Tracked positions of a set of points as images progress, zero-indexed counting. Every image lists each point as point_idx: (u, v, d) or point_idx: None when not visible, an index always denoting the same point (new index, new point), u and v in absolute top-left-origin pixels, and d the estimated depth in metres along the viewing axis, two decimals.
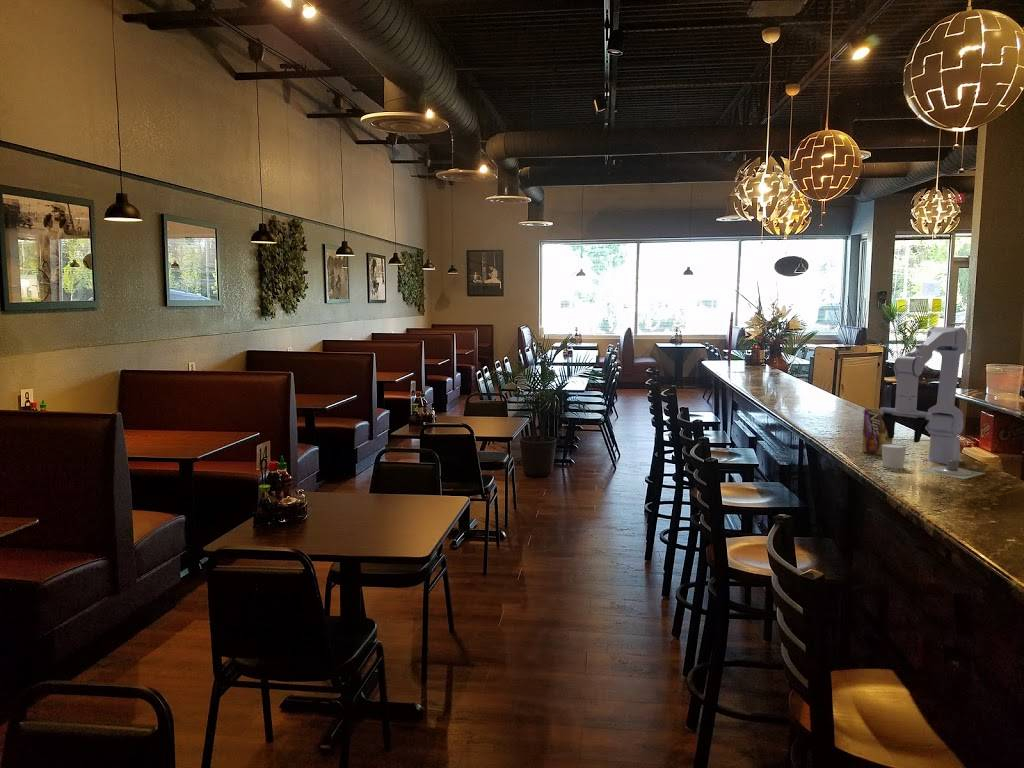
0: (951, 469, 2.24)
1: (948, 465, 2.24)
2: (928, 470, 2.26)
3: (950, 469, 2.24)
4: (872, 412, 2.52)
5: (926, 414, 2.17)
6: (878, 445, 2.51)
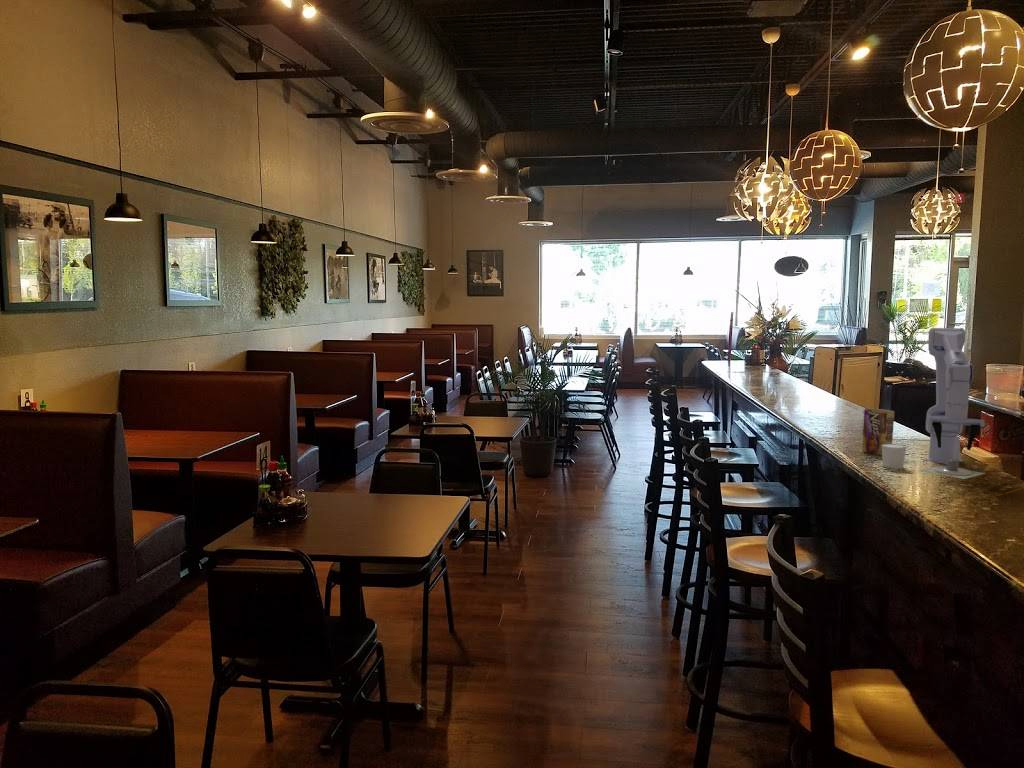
0: (951, 469, 2.24)
1: (948, 465, 2.24)
2: (928, 470, 2.26)
3: (950, 469, 2.24)
4: (872, 412, 2.52)
5: (981, 421, 2.19)
6: (878, 445, 2.51)
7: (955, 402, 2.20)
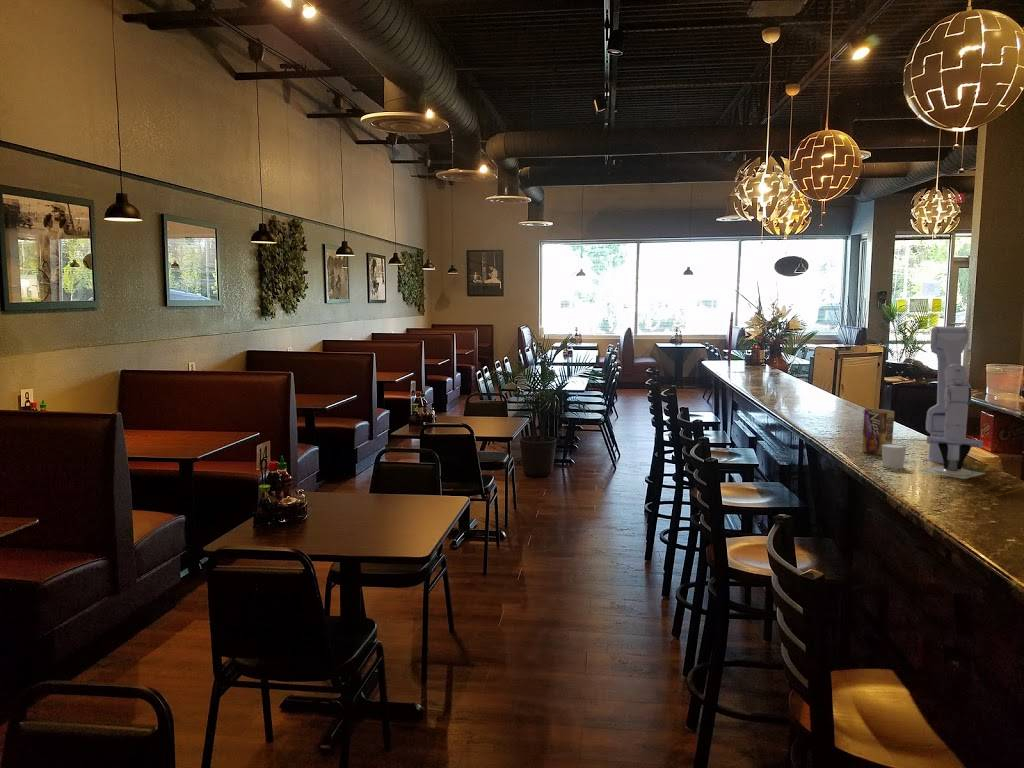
0: (951, 469, 2.24)
1: (948, 465, 2.24)
2: (928, 470, 2.26)
3: (950, 469, 2.24)
4: (872, 412, 2.52)
5: (979, 442, 2.20)
6: (878, 445, 2.51)
7: (953, 423, 2.21)
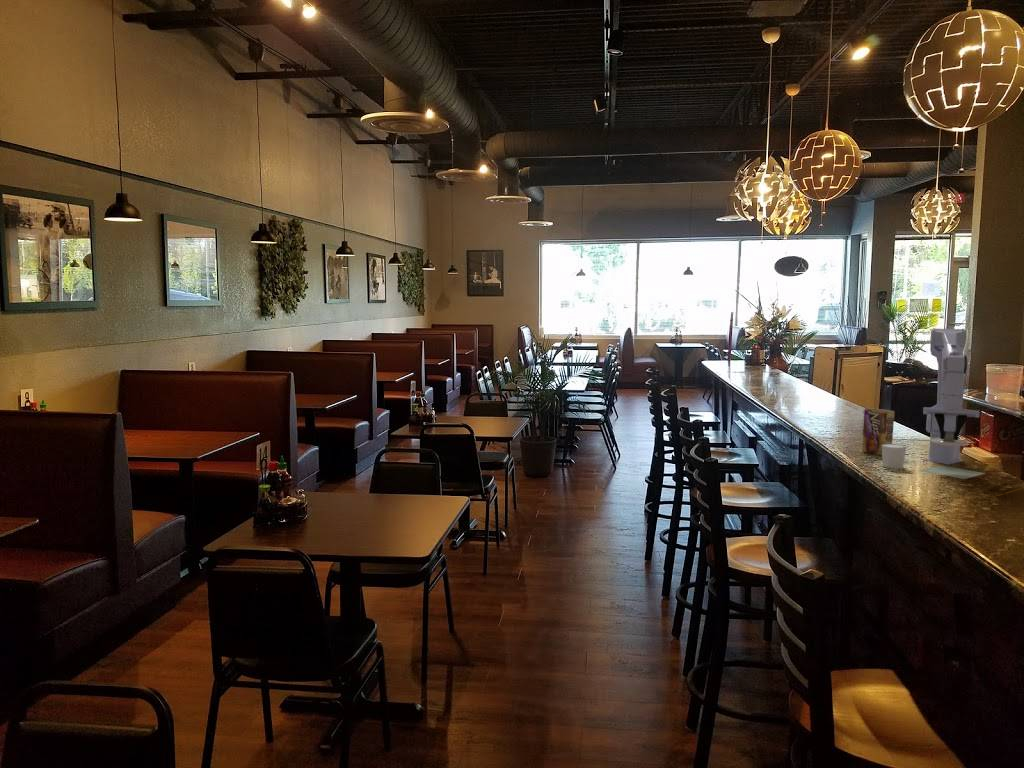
0: (948, 440, 2.23)
1: (945, 436, 2.24)
2: (928, 470, 2.26)
3: (947, 440, 2.23)
4: (872, 412, 2.52)
5: (976, 412, 2.20)
6: (878, 445, 2.51)
7: (949, 393, 2.21)
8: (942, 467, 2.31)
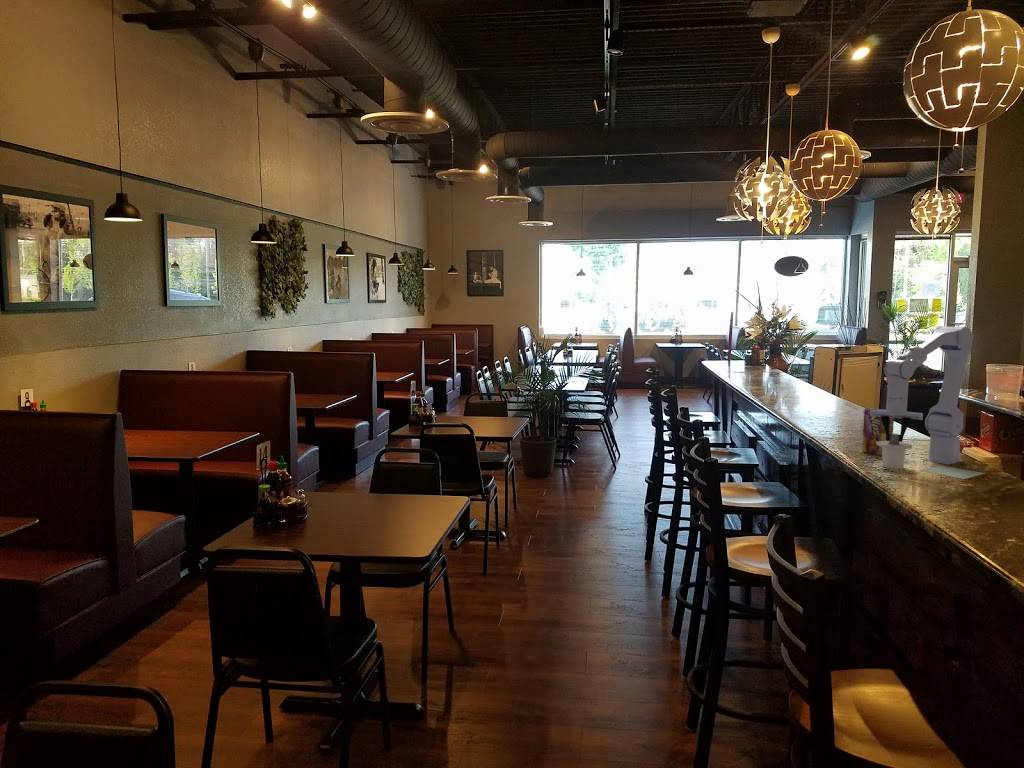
0: (893, 443, 2.30)
1: (890, 439, 2.31)
2: (928, 470, 2.26)
3: (892, 443, 2.30)
4: None
5: (920, 414, 2.26)
6: None
7: (888, 395, 2.29)
8: (942, 467, 2.31)
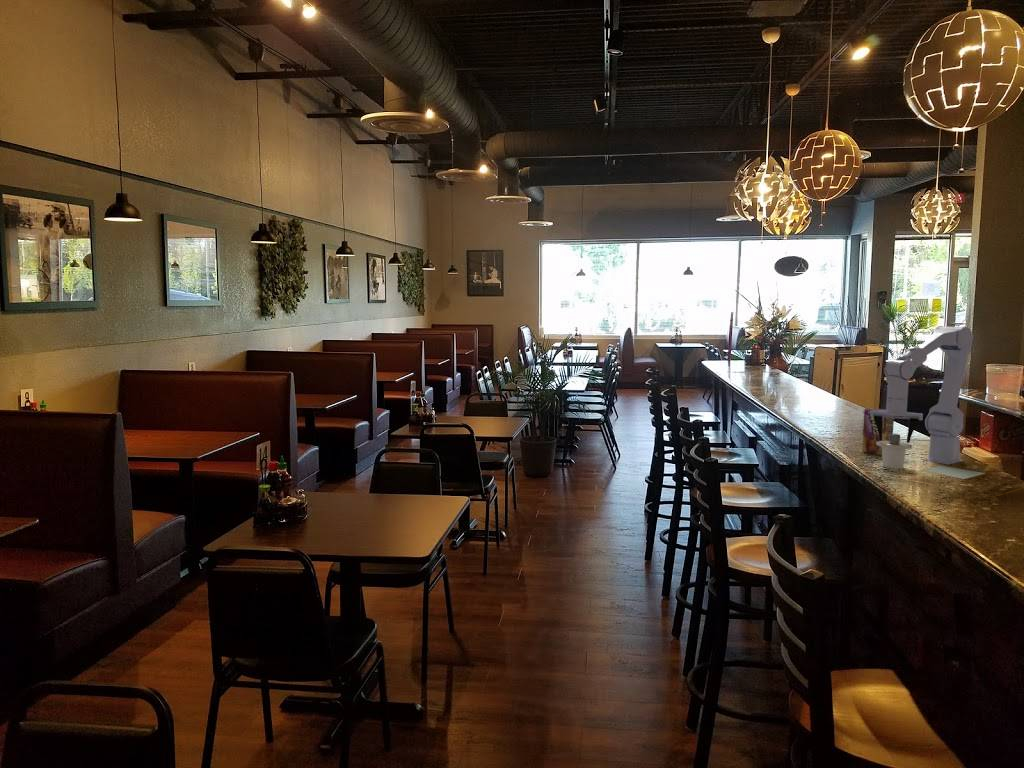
0: (893, 443, 2.30)
1: (890, 439, 2.31)
2: (928, 470, 2.26)
3: (892, 443, 2.30)
4: None
5: (920, 415, 2.26)
6: None
7: (888, 396, 2.29)
8: (942, 467, 2.31)
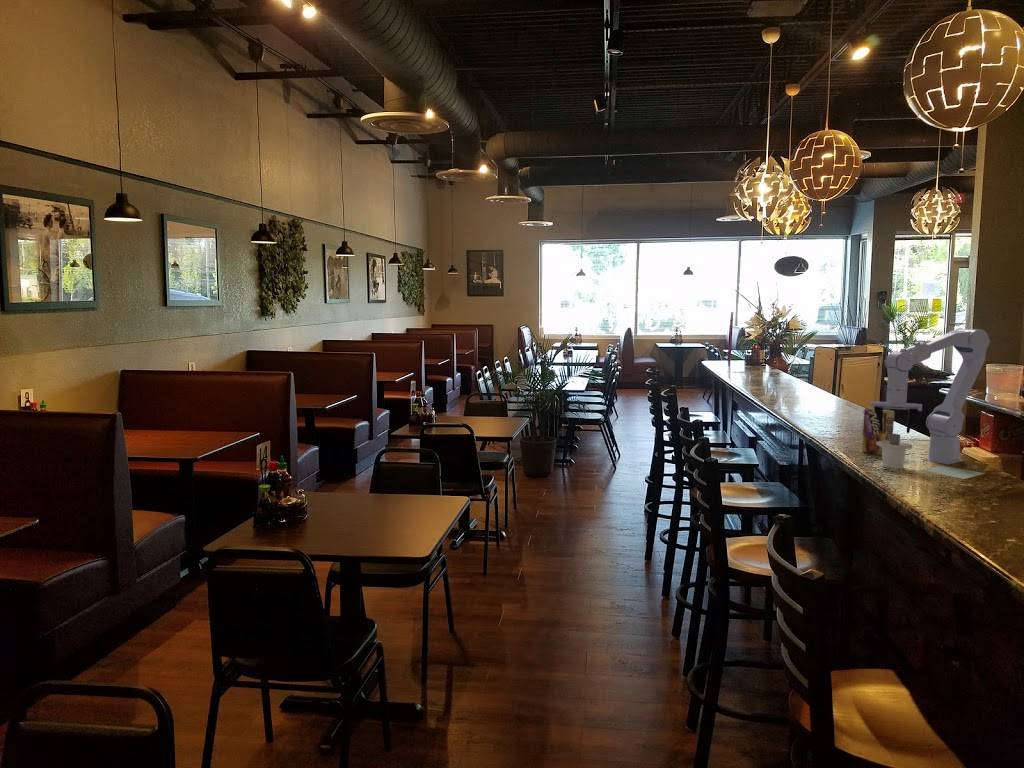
0: (893, 443, 2.30)
1: (890, 439, 2.31)
2: (928, 470, 2.26)
3: (892, 443, 2.30)
4: (872, 412, 2.52)
5: (919, 406, 2.33)
6: None
7: (887, 387, 2.36)
8: (942, 467, 2.31)
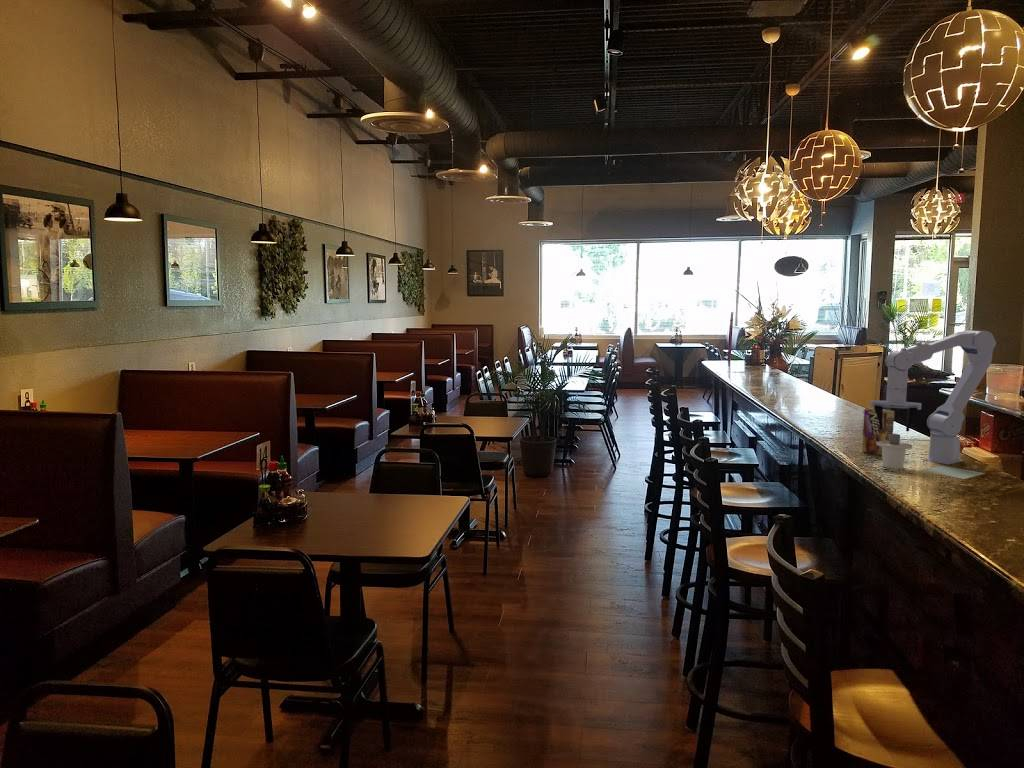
0: (893, 443, 2.30)
1: (890, 439, 2.31)
2: (928, 470, 2.26)
3: (892, 443, 2.30)
4: (872, 412, 2.52)
5: (918, 404, 2.35)
6: None
7: (887, 385, 2.39)
8: (942, 467, 2.31)
